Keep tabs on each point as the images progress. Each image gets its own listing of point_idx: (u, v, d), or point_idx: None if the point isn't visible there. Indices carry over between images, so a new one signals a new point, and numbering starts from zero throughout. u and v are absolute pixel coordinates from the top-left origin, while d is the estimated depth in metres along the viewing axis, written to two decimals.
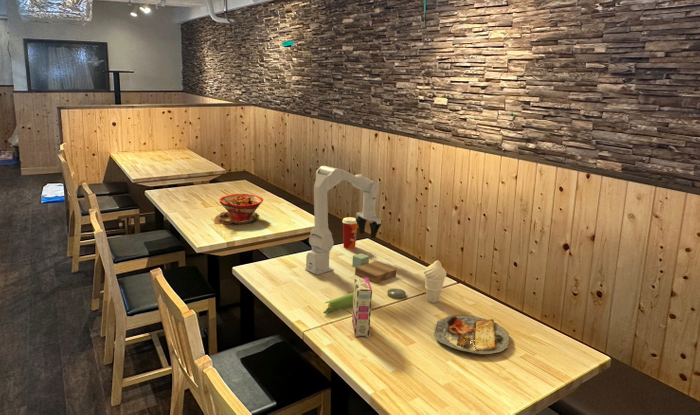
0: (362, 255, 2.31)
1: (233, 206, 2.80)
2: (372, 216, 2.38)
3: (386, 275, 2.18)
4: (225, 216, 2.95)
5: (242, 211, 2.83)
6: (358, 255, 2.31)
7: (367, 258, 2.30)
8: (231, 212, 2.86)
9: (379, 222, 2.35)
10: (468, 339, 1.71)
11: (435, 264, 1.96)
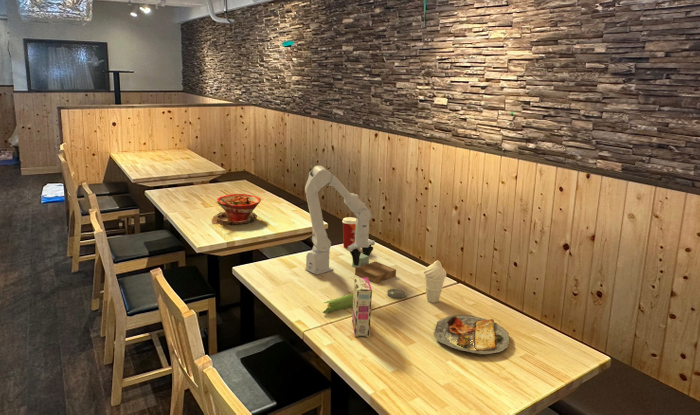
0: (362, 255, 2.31)
1: (231, 206, 2.80)
2: (356, 243, 2.27)
3: (386, 275, 2.18)
4: (223, 216, 2.95)
5: (240, 211, 2.83)
6: None
7: (367, 258, 2.30)
8: (229, 212, 2.86)
9: (349, 249, 2.25)
10: (468, 339, 1.71)
11: (435, 264, 1.96)
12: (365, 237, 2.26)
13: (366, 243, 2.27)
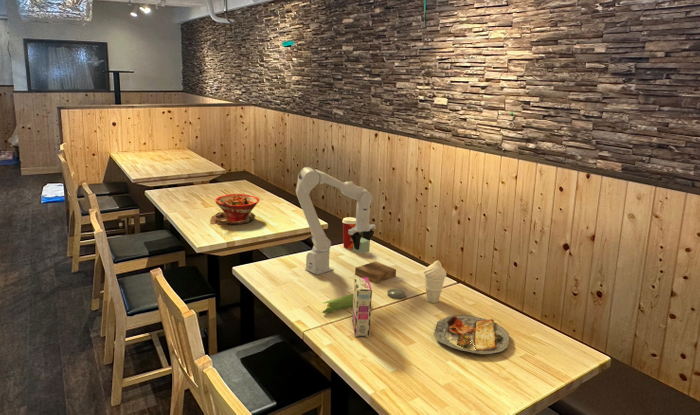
0: (363, 239, 2.29)
1: (229, 206, 2.79)
2: (357, 227, 2.25)
3: (386, 275, 2.18)
4: (221, 216, 2.95)
5: (238, 211, 2.83)
6: None
7: (368, 242, 2.28)
8: (227, 212, 2.85)
9: (349, 233, 2.23)
10: (468, 339, 1.71)
11: (435, 264, 1.96)
12: (366, 221, 2.24)
13: (367, 227, 2.25)
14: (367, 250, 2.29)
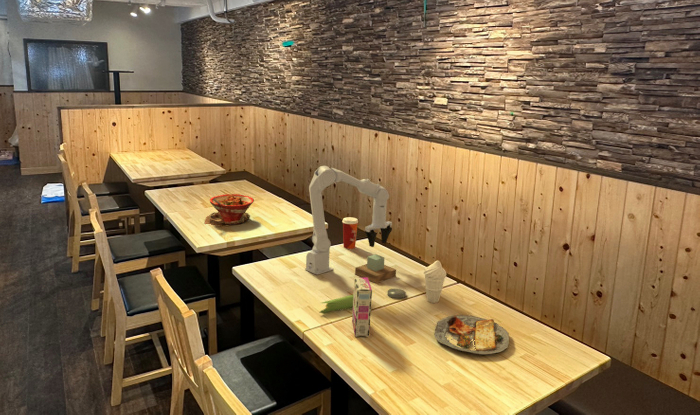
0: (377, 256, 2.22)
1: (223, 206, 2.79)
2: (373, 224, 2.26)
3: (386, 275, 2.18)
4: (216, 216, 2.94)
5: (232, 211, 2.82)
6: (373, 256, 2.21)
7: (382, 259, 2.20)
8: (221, 212, 2.85)
9: (366, 230, 2.24)
10: (468, 339, 1.71)
11: (435, 264, 1.96)
12: (383, 218, 2.25)
13: (384, 224, 2.26)
14: (382, 267, 2.21)
